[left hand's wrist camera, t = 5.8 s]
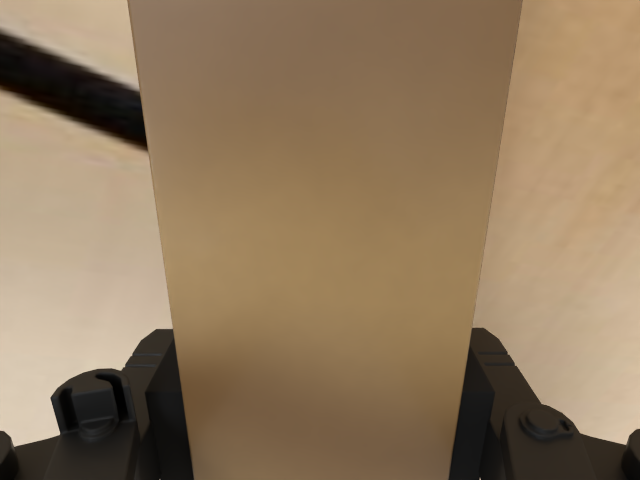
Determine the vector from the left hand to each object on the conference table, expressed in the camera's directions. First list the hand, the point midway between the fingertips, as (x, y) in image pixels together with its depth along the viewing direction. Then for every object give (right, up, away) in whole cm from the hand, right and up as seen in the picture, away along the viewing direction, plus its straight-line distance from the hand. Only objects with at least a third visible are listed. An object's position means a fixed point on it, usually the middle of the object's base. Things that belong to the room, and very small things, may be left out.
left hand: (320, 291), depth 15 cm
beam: (0, +19, -7) cm, 20 cm away
